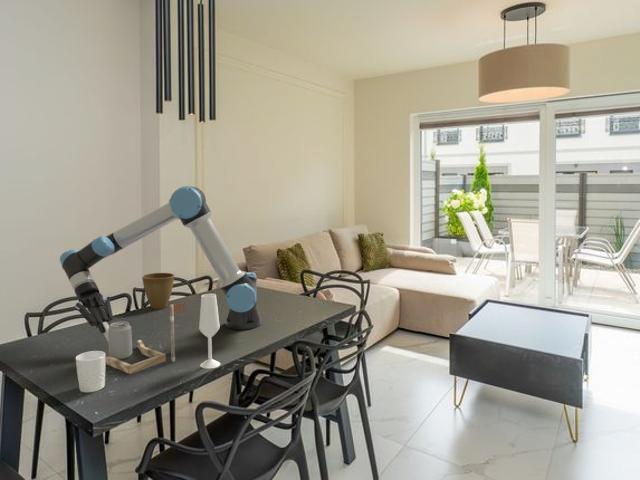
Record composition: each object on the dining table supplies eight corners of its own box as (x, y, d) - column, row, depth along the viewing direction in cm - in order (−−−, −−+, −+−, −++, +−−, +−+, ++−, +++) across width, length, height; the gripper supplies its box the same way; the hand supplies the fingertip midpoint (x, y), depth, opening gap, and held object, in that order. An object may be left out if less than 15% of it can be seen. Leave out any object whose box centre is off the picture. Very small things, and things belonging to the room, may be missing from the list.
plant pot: (156, 313, 212) (155, 279, 210) (136, 308, 219) (135, 276, 217) (181, 305, 224) (180, 274, 222) (162, 301, 232) (161, 271, 230)
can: (125, 361, 154) (123, 327, 152) (104, 360, 155) (102, 326, 153) (136, 353, 161) (135, 320, 160) (117, 352, 162) (115, 319, 161)
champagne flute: (222, 360, 155) (220, 293, 152) (218, 368, 149) (216, 298, 146) (202, 360, 155) (200, 293, 152) (198, 368, 148) (196, 298, 145)
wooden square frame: (186, 357, 158) (184, 302, 155) (125, 380, 139) (122, 317, 137) (147, 343, 171) (145, 292, 168) (87, 363, 152) (84, 305, 150)
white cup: (98, 379, 139) (96, 348, 138) (112, 386, 135) (110, 354, 134) (72, 389, 133) (70, 356, 132) (86, 396, 129) (84, 362, 127)
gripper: (98, 289, 174) (124, 339, 167) (63, 295, 164) (89, 349, 156) (105, 277, 171) (131, 328, 163) (69, 283, 160) (96, 338, 153)
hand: (110, 338), depth 160 cm, fingers closed
